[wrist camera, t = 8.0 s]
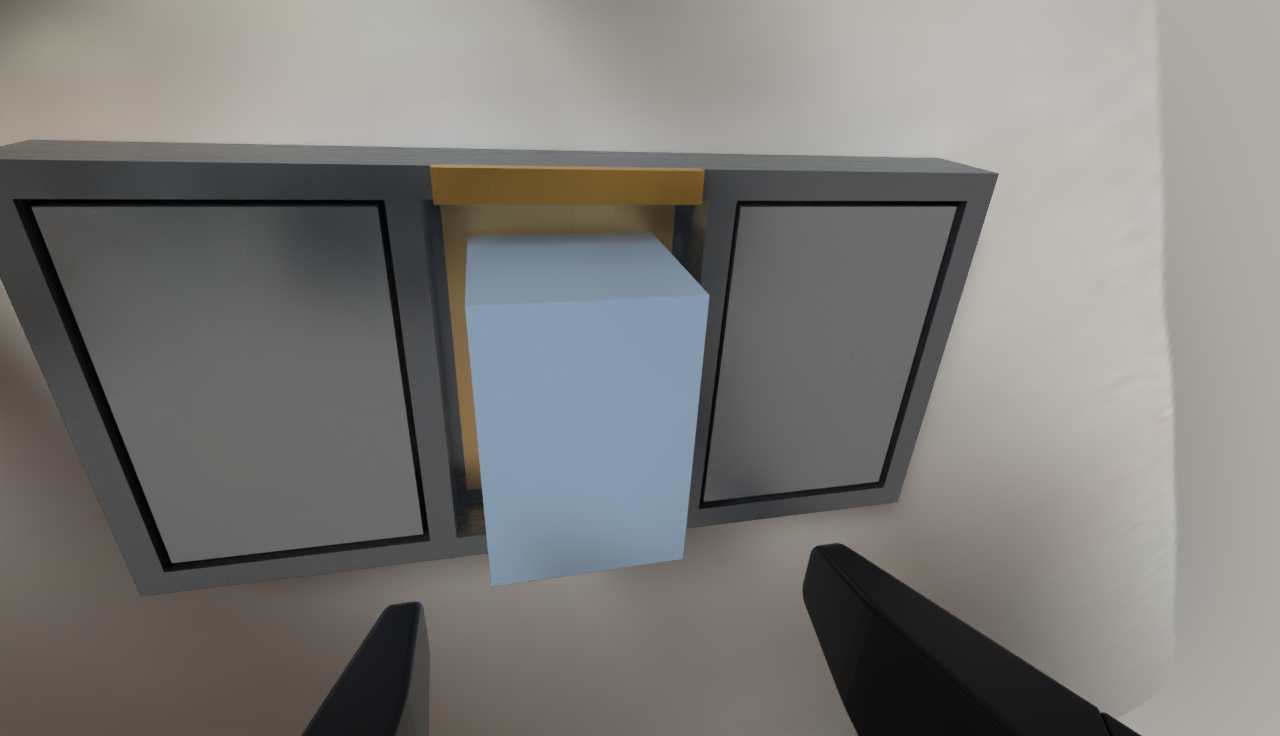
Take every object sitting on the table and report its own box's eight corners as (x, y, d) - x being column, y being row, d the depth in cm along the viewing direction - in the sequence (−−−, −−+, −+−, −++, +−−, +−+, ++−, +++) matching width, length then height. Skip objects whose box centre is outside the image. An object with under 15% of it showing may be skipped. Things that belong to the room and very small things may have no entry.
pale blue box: (651, 231, 14) (709, 294, 10) (639, 451, 17) (682, 558, 13) (467, 235, 13) (464, 305, 10) (487, 467, 16) (491, 586, 12)
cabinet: (940, 157, 15) (1008, 175, 13) (860, 461, 20) (903, 508, 18) (28, 138, 11) (-68, 160, 9) (178, 534, 15) (134, 607, 13)
